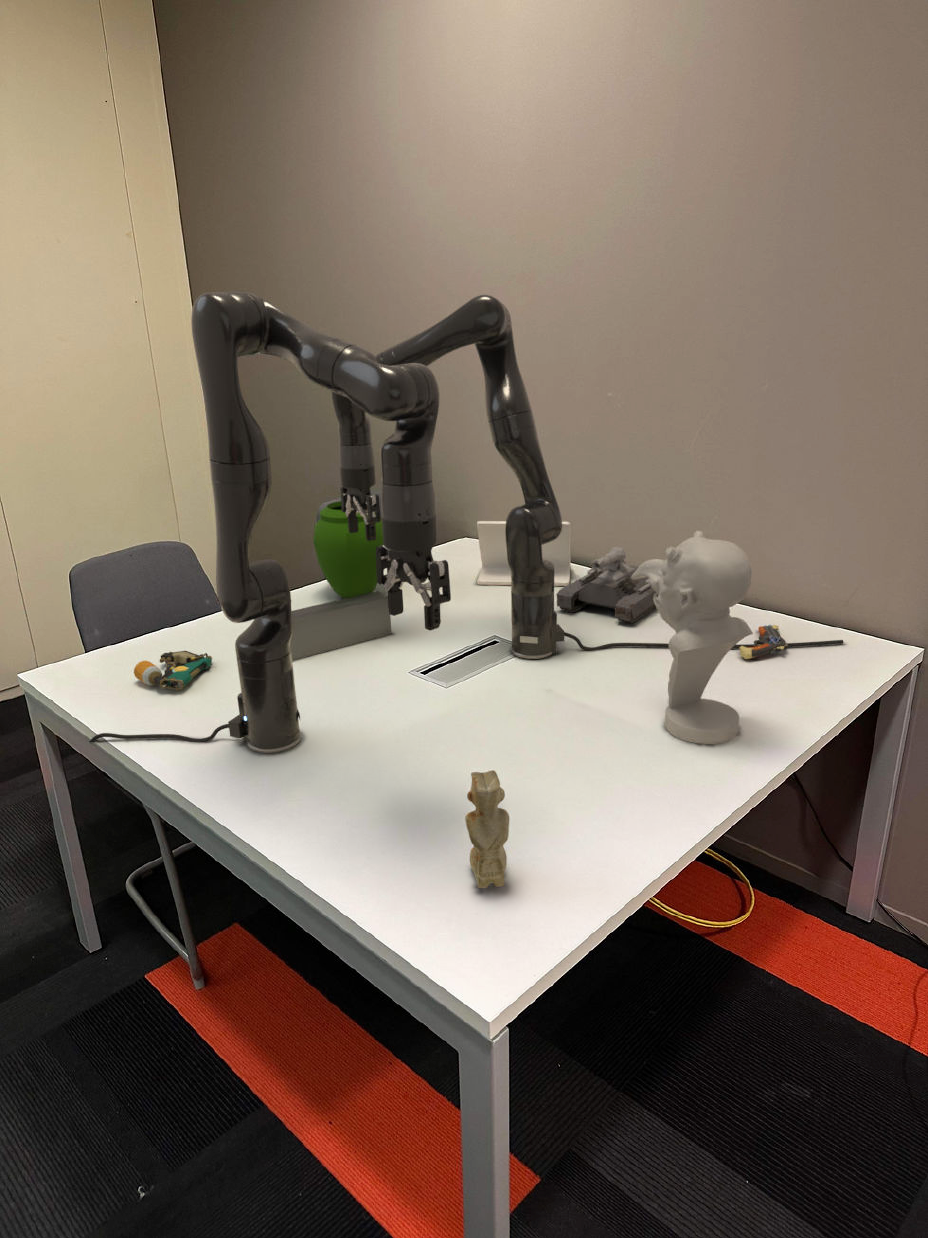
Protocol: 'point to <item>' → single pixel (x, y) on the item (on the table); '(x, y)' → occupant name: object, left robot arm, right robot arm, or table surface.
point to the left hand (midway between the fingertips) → (414, 621)
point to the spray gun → (172, 669)
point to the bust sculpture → (699, 629)
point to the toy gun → (764, 642)
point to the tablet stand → (496, 554)
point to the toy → (610, 589)
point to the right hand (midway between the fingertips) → (362, 536)
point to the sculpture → (487, 829)
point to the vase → (346, 552)
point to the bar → (339, 624)
